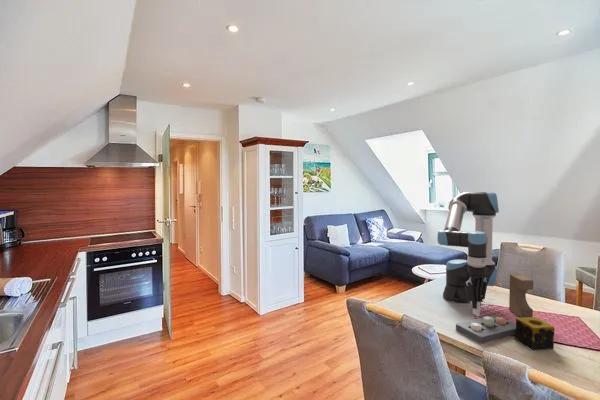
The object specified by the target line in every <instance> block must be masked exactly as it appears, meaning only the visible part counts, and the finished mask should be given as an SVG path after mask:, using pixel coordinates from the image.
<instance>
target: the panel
mask: <svg viewBox="0 0 600 400" xmlns="http://www.w3.org/2000/svg"><path fill="white" fill-rule="evenodd" d="M487 316H488V317H492V318H494V328H491V329H489V328H487V327H485V326H483V320H484V317H485V316H483V317H480V318H475V319H471V320H467V321H466V320H465V321H463V322H458V323H455V331H458V332H459V333H461V334H463V335H465V336H467V338H470V339H472V340H474V341H475V342H477V343H479V344H481V345H482V344H486V343H489V342H494V341H497V340H500V339H504V338H509V337H513V336H515V329H516V322H513V321H510V320H508V319H506V325H503V326H502V325H500V324H497V323H496V317H500V316H499V315H497V314H492V315H487ZM471 323H478V324H481V325H482V331H479V332H476V331H474V330H472V329H471Z"/></svg>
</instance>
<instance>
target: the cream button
mask: <svg viewBox="0 0 600 400" xmlns="http://www.w3.org/2000/svg"><path fill="white" fill-rule="evenodd" d="M471 329H472V330H474V331H476V332H479V331H482V325H481V324H478V323H471Z"/></svg>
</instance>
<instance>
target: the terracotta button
mask: <svg viewBox="0 0 600 400" xmlns="http://www.w3.org/2000/svg"><path fill="white" fill-rule="evenodd" d="M506 320H507V319H506V318H505V317H501V316H499V317H496V323H497V324H500V325H502V326H503V325H506Z"/></svg>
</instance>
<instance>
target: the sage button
mask: <svg viewBox="0 0 600 400" xmlns="http://www.w3.org/2000/svg"><path fill="white" fill-rule="evenodd" d="M488 316H489V315H487V316H483V317H484V320H483V326H485V327H487V328H489V329H491V328H494V318H492V317H488Z"/></svg>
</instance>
